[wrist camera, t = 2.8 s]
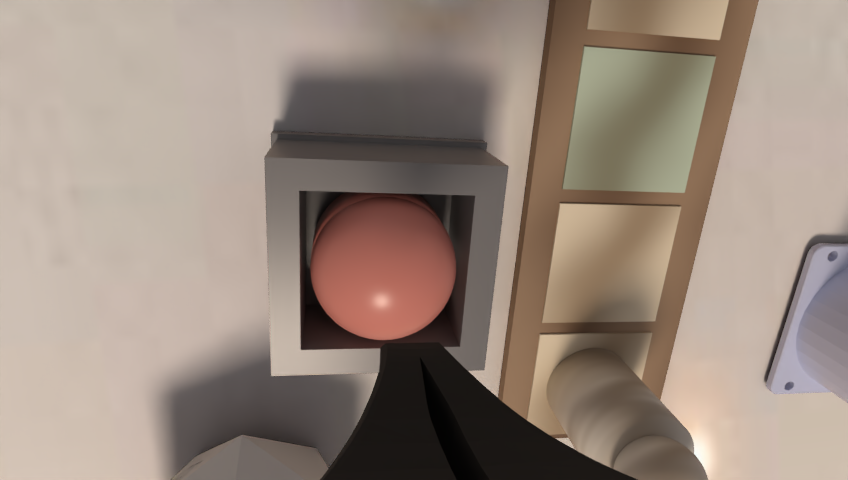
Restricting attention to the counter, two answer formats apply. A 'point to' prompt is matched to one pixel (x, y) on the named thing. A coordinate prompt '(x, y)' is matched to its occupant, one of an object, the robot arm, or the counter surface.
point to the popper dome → (382, 264)
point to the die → (255, 462)
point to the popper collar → (377, 173)
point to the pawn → (619, 418)
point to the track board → (618, 184)
